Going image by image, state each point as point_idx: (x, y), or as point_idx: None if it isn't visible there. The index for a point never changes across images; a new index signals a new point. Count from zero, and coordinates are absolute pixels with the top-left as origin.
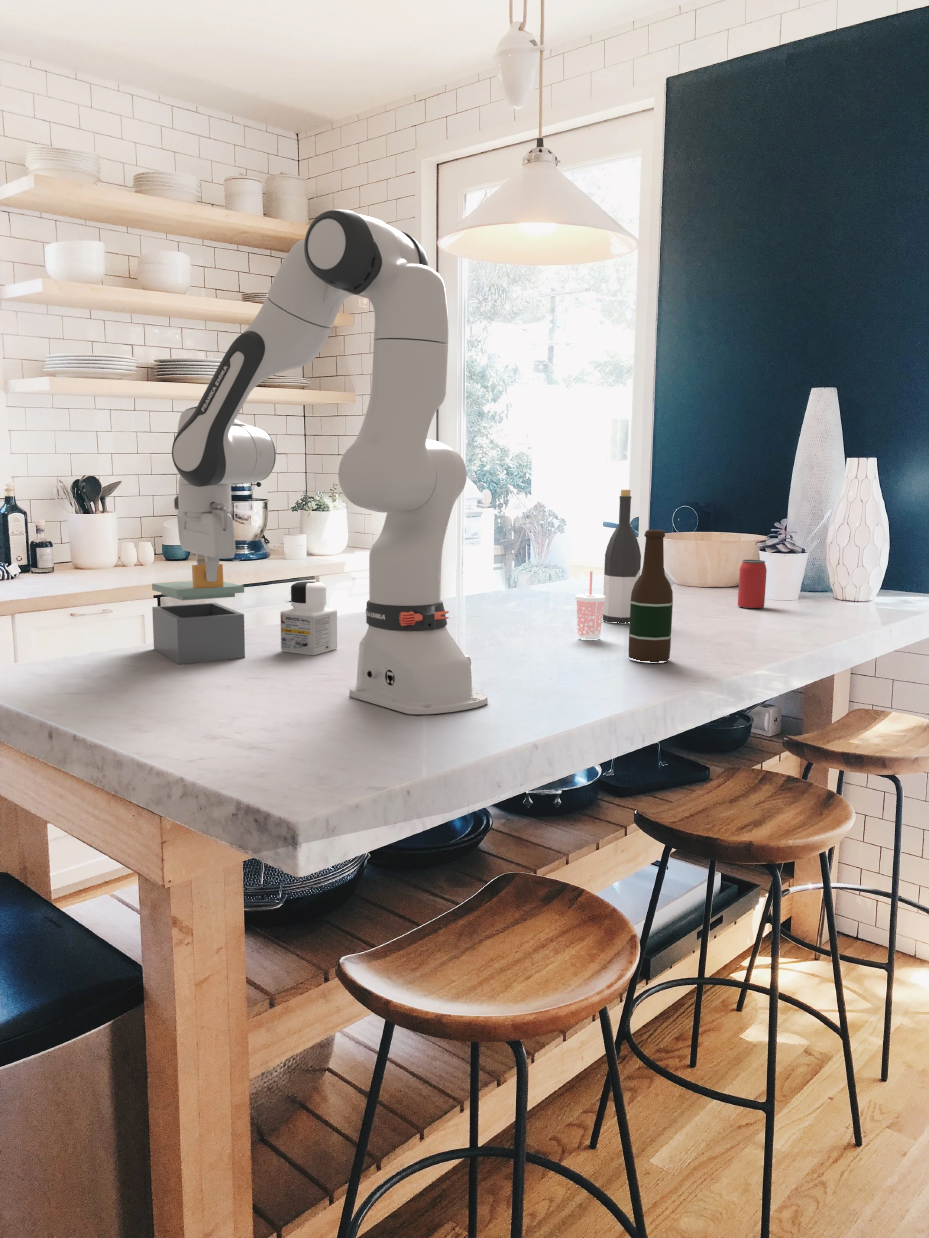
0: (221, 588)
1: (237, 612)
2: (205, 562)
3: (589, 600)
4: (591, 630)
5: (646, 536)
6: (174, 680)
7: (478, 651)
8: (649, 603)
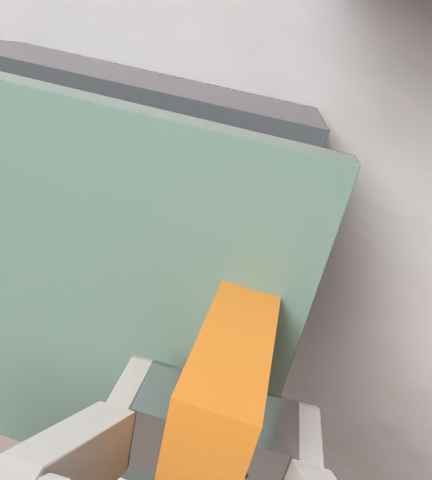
0: (305, 322)
1: (253, 125)
2: (76, 471)
3: None
4: None
5: None
6: (423, 405)
7: None
8: None
